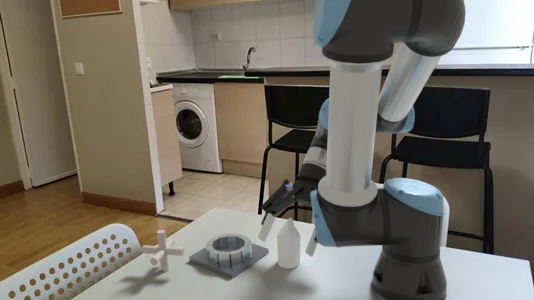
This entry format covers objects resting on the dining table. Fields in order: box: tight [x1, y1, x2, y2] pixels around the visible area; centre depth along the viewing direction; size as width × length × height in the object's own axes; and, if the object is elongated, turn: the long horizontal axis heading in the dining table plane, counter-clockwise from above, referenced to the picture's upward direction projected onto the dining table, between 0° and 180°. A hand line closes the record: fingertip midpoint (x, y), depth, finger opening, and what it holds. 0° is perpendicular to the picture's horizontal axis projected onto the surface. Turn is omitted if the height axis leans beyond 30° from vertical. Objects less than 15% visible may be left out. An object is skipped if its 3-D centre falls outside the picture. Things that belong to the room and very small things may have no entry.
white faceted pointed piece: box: [276, 217, 302, 270], centre depth 104 cm, size 6×12×6 cm
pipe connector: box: [141, 229, 185, 272], centre depth 103 cm, size 10×10×10 cm
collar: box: [188, 233, 270, 279], centre depth 109 cm, size 14×14×4 cm
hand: (284, 246), depth 103 cm, fingers open, 13 cm apart
